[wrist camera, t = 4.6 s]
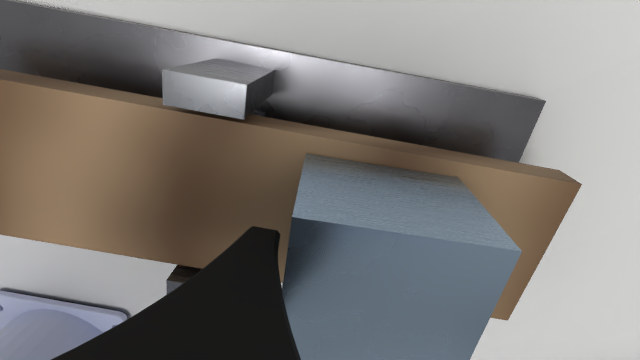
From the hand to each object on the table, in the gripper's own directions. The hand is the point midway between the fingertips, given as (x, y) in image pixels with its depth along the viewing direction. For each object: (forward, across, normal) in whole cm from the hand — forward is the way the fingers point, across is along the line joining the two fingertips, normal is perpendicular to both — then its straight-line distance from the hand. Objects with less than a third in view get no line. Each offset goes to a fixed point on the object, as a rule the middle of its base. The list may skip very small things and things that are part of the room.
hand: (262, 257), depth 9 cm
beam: (+4, +2, 0) cm, 4 cm away
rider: (+2, -3, 0) cm, 4 cm away
